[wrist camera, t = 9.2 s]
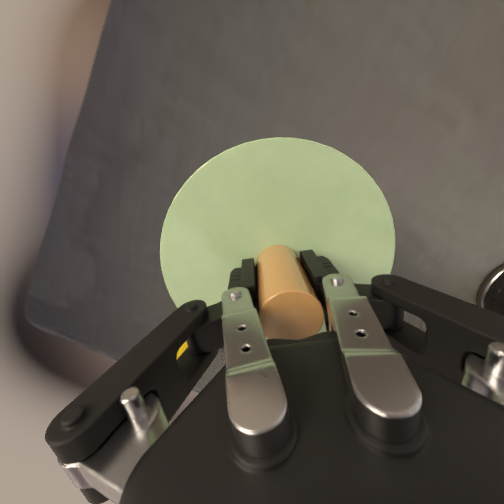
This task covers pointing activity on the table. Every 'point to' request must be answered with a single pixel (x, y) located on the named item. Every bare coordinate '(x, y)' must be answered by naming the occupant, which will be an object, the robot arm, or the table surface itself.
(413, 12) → the table surface
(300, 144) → the lid
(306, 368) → the robot arm
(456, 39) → the table surface
